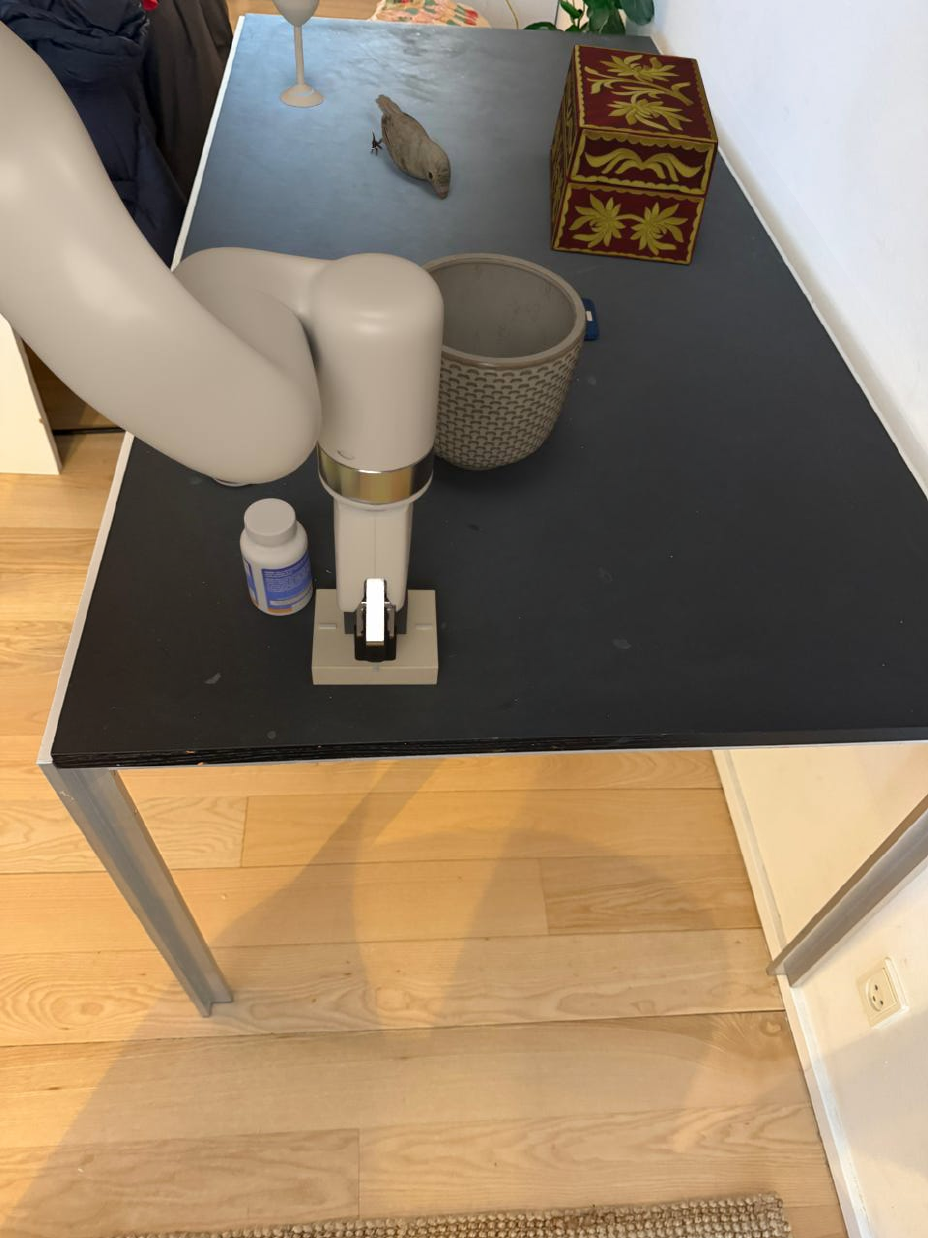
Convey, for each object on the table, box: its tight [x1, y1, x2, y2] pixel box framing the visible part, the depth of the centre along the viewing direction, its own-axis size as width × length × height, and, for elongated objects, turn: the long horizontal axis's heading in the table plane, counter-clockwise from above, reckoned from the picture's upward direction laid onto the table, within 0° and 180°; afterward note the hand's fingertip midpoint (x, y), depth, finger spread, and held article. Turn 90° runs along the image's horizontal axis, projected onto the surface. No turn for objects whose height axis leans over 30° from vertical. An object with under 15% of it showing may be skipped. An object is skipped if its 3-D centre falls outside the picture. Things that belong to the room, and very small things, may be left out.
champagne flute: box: [272, 0, 324, 108], centre depth 124 cm, size 7×7×24 cm
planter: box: [419, 252, 587, 472], centre depth 83 cm, size 17×17×16 cm
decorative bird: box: [370, 93, 452, 200], centre depth 119 cm, size 5×16×7 cm, turn 36°
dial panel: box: [311, 588, 439, 686], centre depth 72 cm, size 10×9×3 cm
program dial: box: [344, 585, 409, 634], centre depth 69 cm, size 5×2×5 cm, turn 93°
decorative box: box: [549, 44, 719, 265], centre depth 115 cm, size 28×19×15 cm
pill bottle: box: [239, 497, 314, 617], centre depth 71 cm, size 5×5×10 cm
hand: (375, 618), depth 70 cm, fingers open, 6 cm apart
